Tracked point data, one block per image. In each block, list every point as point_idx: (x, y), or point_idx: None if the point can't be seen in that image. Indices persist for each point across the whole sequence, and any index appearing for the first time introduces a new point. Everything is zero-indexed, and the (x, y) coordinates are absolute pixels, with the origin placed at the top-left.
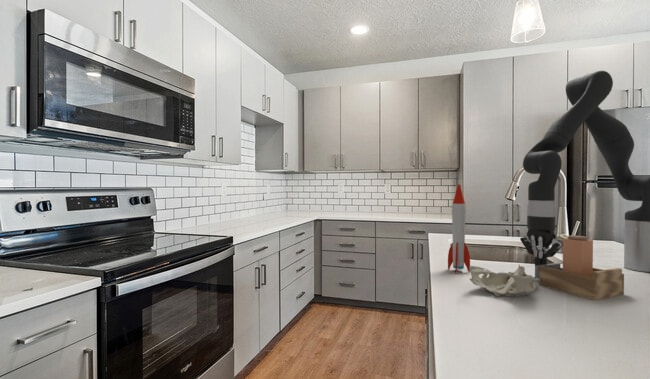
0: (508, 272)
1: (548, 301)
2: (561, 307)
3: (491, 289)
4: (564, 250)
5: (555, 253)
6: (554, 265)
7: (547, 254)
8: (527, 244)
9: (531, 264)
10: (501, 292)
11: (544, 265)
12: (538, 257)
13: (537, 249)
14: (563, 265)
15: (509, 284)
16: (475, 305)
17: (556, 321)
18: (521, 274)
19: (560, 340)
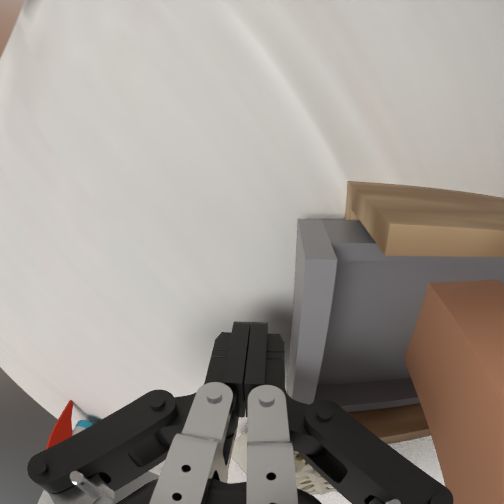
0: (243, 456)
1: (404, 442)
2: (431, 440)
3: (305, 491)
4: (456, 490)
5: (366, 430)
6: (326, 323)
7: (324, 455)
8: (130, 480)
9: (12, 55)
10: (332, 491)
11: (311, 402)
12: (238, 413)
13: (226, 472)
14: (429, 417)
15: (309, 474)
16: (326, 500)
17: (432, 466)
18: (299, 462)
19: (441, 477)
